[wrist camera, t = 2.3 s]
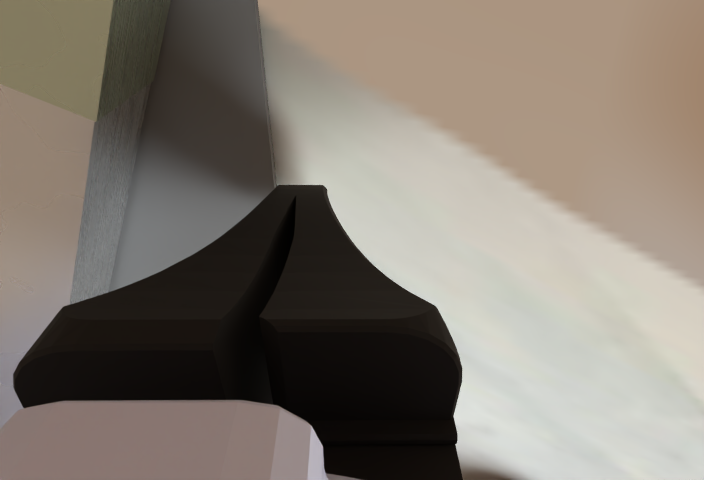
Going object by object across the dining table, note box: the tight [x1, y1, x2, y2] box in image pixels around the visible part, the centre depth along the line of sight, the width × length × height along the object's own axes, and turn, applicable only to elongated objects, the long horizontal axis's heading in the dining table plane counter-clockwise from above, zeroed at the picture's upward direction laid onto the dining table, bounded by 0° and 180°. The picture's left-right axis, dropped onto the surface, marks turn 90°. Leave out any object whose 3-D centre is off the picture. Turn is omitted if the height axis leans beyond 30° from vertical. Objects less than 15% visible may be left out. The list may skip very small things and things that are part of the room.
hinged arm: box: [0, 0, 171, 429], centre depth 13 cm, size 21×4×3 cm, turn 154°
